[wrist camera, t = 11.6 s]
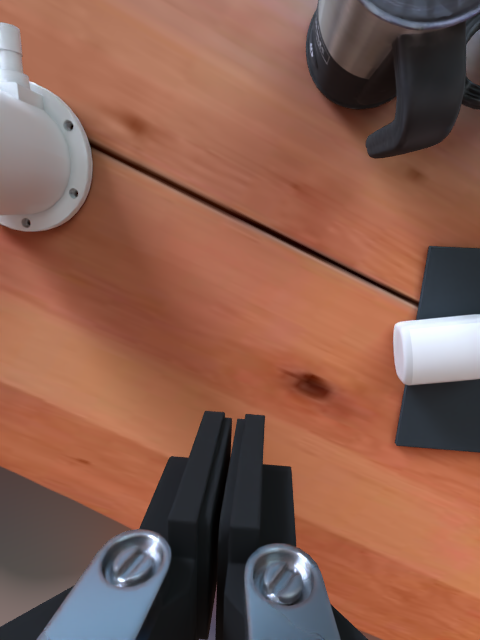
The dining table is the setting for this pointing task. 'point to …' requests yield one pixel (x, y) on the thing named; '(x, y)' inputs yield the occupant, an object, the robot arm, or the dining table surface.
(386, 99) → the milk frother
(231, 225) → the dining table surface
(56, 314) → the dining table surface
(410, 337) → the eye dropper bottle
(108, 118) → the dining table surface
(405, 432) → the mat
